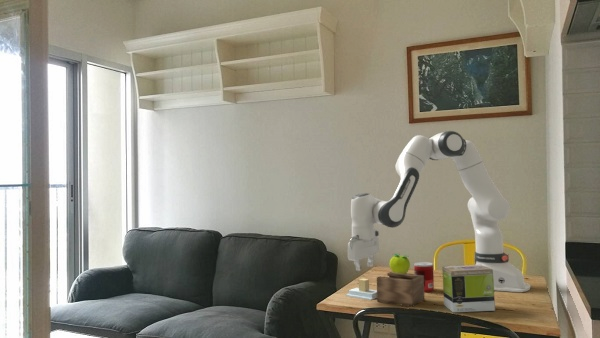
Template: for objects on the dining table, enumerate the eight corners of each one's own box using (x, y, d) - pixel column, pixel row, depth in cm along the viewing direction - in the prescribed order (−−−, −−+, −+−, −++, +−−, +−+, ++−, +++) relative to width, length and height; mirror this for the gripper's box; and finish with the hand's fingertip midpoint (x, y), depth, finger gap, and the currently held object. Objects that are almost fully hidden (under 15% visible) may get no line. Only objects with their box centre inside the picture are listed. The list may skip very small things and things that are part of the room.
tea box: (483, 304, 179) (482, 263, 179) (495, 311, 169) (494, 269, 169) (443, 305, 179) (441, 265, 179) (452, 313, 168) (451, 270, 169)
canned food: (434, 288, 206) (433, 262, 206) (433, 292, 198) (433, 265, 199) (415, 287, 208) (414, 261, 208) (414, 291, 200) (413, 265, 201)
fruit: (398, 272, 242) (397, 251, 242) (413, 274, 235) (412, 253, 235) (386, 274, 236) (385, 254, 236) (401, 277, 229) (400, 256, 229)
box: (424, 299, 188) (423, 275, 188) (411, 306, 178) (411, 281, 178) (391, 295, 196) (390, 272, 196) (377, 301, 186) (376, 277, 186)
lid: (383, 296, 196) (382, 279, 196) (371, 301, 189) (370, 283, 189) (358, 292, 204) (357, 275, 204) (345, 297, 197) (345, 279, 197)
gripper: (357, 237, 186) (358, 273, 186) (381, 231, 203) (382, 264, 203) (342, 237, 190) (344, 272, 190) (367, 230, 207) (369, 263, 206)
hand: (364, 268), depth 196 cm, fingers open, 8 cm apart
